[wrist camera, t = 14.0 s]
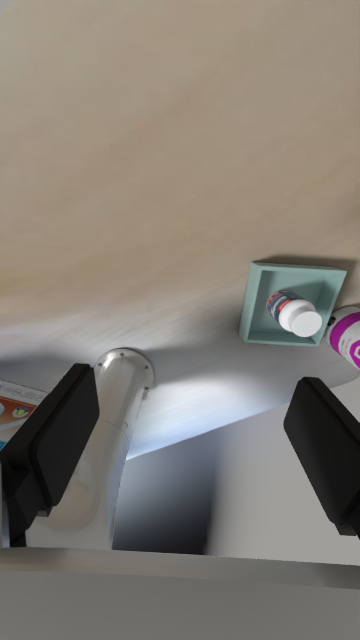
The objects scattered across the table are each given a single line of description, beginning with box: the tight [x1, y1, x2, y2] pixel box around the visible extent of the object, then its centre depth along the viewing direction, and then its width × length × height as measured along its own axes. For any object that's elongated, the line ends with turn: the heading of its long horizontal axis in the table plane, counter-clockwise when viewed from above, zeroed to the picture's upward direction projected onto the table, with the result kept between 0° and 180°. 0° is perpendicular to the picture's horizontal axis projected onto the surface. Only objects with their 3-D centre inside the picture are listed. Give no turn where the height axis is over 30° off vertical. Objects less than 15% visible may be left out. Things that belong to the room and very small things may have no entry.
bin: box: [238, 262, 347, 347], centre depth 35 cm, size 13×13×4 cm
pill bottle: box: [266, 289, 322, 337], centre depth 32 cm, size 5×5×9 cm
